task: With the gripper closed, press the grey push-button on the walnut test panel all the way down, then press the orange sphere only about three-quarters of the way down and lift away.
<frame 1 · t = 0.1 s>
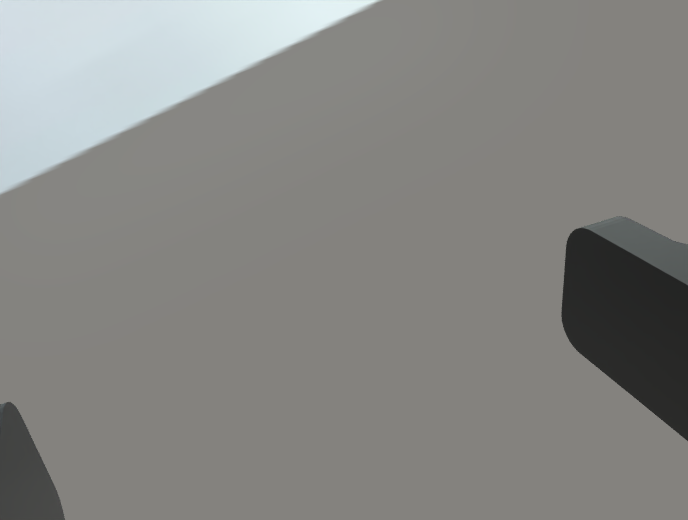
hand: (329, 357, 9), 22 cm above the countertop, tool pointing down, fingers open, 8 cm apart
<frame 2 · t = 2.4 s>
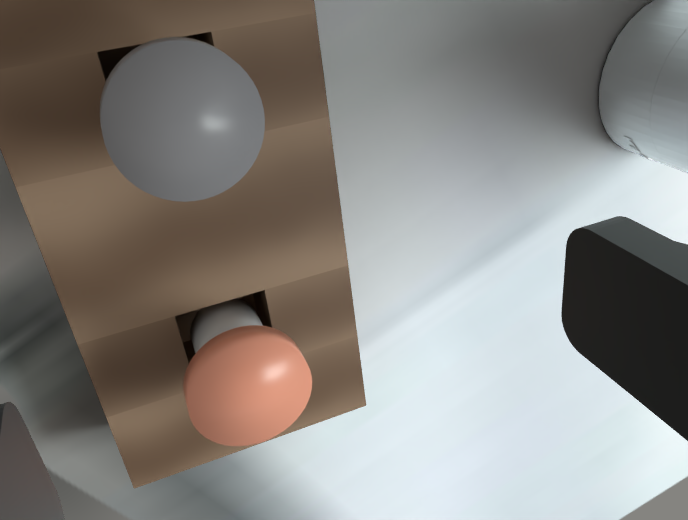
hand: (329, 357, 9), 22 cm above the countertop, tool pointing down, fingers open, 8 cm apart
grey button: (175, 107, 22), point 7 cm above the countertop, slide at 0.0 cm
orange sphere: (237, 359, 27), point 7 cm above the countertop, slide at 0.0 cm
button panel: (184, 190, 30), on the countertop
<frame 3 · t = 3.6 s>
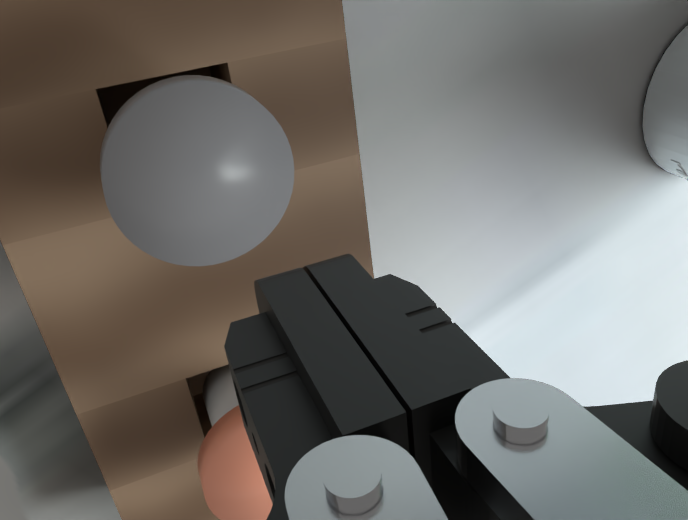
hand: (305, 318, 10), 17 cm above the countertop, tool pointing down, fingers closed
grey button: (187, 152, 19), point 7 cm above the countertop, slide at 0.0 cm
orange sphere: (257, 425, 24), point 7 cm above the countertop, slide at 0.0 cm
button panel: (193, 231, 27), on the countertop
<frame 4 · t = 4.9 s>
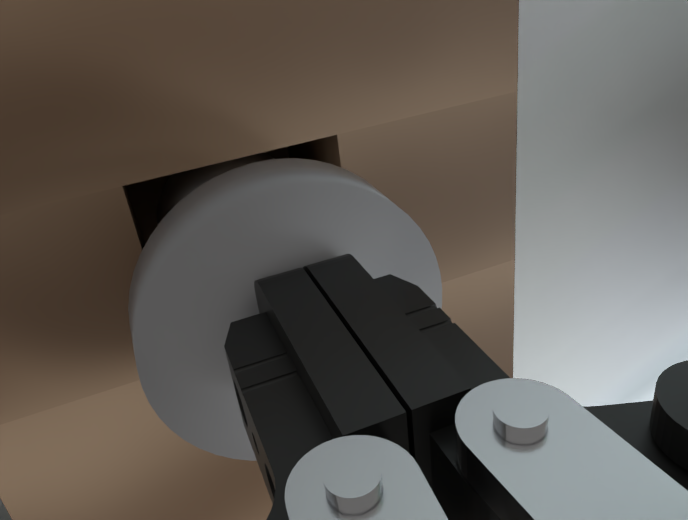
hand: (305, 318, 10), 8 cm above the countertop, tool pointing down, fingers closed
grey button: (259, 263, 12), point 5 cm above the countertop, slide at 1.2 cm, touching gripper
button panel: (247, 344, 19), on the countertop
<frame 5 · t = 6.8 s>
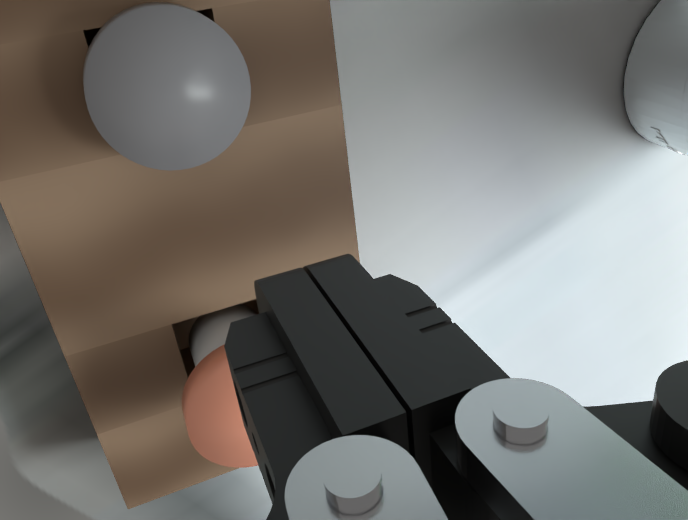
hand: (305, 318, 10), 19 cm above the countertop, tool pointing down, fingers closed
grey button: (160, 76, 22), point 4 cm above the countertop, slide at 2.7 cm
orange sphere: (240, 371, 25), point 7 cm above the countertop, slide at 0.0 cm
button panel: (181, 186, 28), on the countertop
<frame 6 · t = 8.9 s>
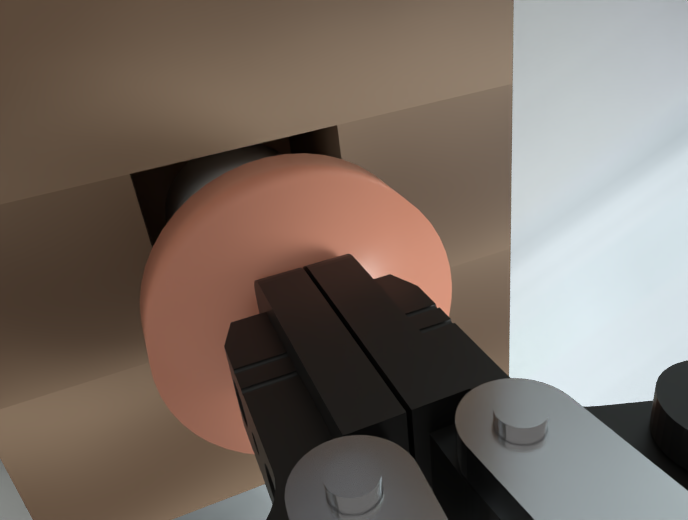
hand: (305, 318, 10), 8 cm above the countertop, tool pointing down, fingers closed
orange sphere: (268, 259, 12), point 6 cm above the countertop, slide at 0.8 cm, touching gripper
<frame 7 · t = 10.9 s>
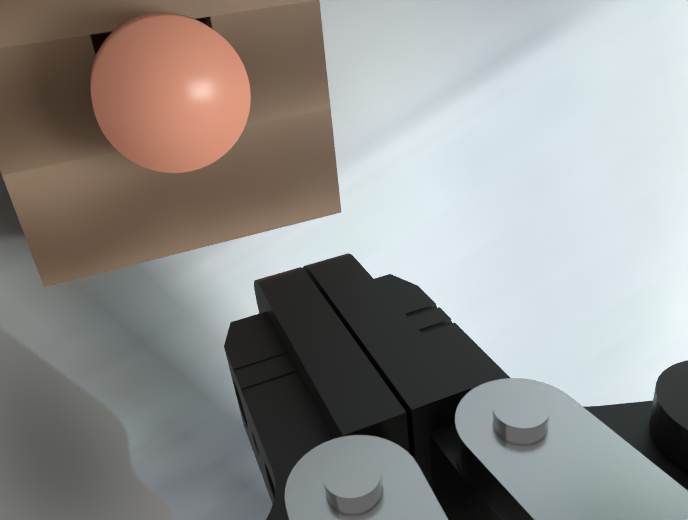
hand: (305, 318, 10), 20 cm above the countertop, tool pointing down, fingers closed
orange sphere: (164, 82, 23), point 5 cm above the countertop, slide at 2.0 cm
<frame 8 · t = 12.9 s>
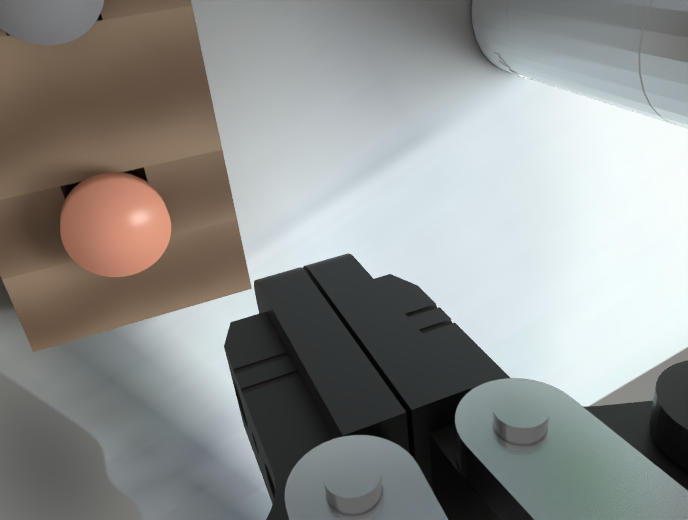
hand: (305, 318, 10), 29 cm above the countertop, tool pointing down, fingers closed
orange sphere: (113, 210, 33), point 5 cm above the countertop, slide at 2.0 cm
button panel: (78, 85, 34), on the countertop
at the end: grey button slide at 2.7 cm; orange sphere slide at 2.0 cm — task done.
